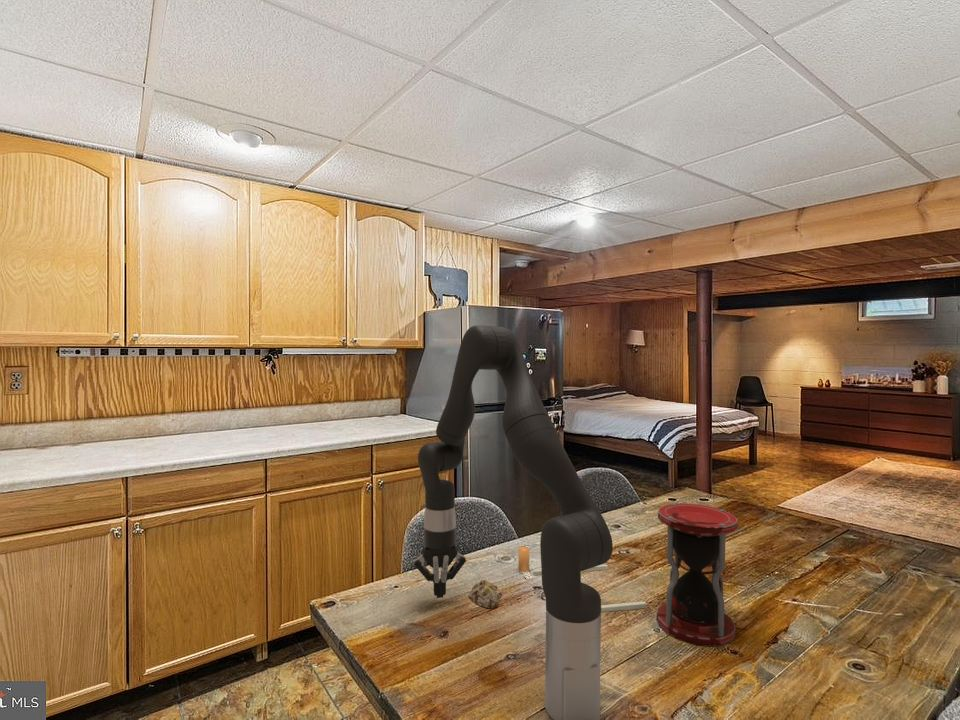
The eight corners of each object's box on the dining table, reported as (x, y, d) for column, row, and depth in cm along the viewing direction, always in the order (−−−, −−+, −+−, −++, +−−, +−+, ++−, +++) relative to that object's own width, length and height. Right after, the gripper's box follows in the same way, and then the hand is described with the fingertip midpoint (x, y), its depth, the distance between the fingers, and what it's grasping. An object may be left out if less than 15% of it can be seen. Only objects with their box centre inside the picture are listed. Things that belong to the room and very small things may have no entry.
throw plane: (654, 616, 117) (654, 590, 117) (551, 626, 113) (551, 599, 113) (600, 561, 147) (600, 541, 147) (517, 568, 142) (517, 546, 142)
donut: (680, 572, 141) (680, 558, 141) (675, 558, 150) (676, 544, 150) (720, 576, 138) (720, 562, 138) (713, 561, 148) (713, 548, 148)
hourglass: (641, 614, 118) (642, 506, 118) (696, 602, 124) (698, 499, 123) (693, 653, 103) (695, 530, 103) (753, 638, 109) (755, 521, 108)
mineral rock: (463, 581, 130) (493, 570, 131) (467, 597, 130) (497, 586, 132) (472, 604, 119) (504, 591, 121) (477, 621, 120) (509, 608, 121)
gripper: (412, 532, 118) (412, 606, 119) (469, 528, 120) (469, 601, 121) (411, 521, 125) (411, 591, 126) (464, 518, 128) (464, 586, 128)
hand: (439, 596), depth 123 cm, fingers closed
